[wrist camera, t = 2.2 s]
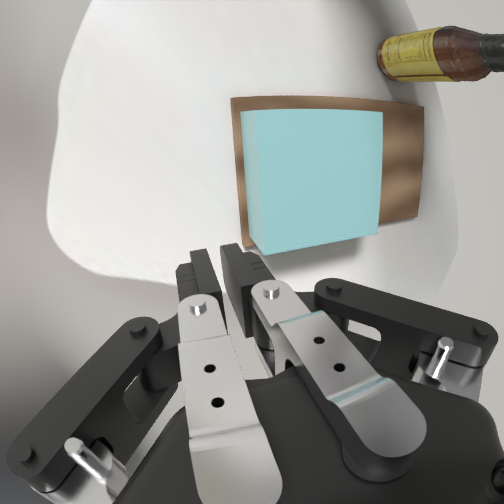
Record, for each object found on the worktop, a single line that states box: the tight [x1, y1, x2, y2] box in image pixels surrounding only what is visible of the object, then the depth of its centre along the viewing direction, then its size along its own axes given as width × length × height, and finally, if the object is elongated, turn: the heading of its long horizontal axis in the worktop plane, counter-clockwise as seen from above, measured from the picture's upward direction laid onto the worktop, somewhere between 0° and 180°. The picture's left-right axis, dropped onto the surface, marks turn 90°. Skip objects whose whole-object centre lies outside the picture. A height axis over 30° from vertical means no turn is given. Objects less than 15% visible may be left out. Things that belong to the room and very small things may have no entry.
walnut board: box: [230, 96, 424, 247], centre depth 33 cm, size 16×26×1 cm, turn 94°
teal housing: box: [240, 109, 383, 256], centre depth 29 cm, size 13×13×5 cm
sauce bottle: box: [377, 26, 504, 82], centre depth 21 cm, size 6×6×20 cm
